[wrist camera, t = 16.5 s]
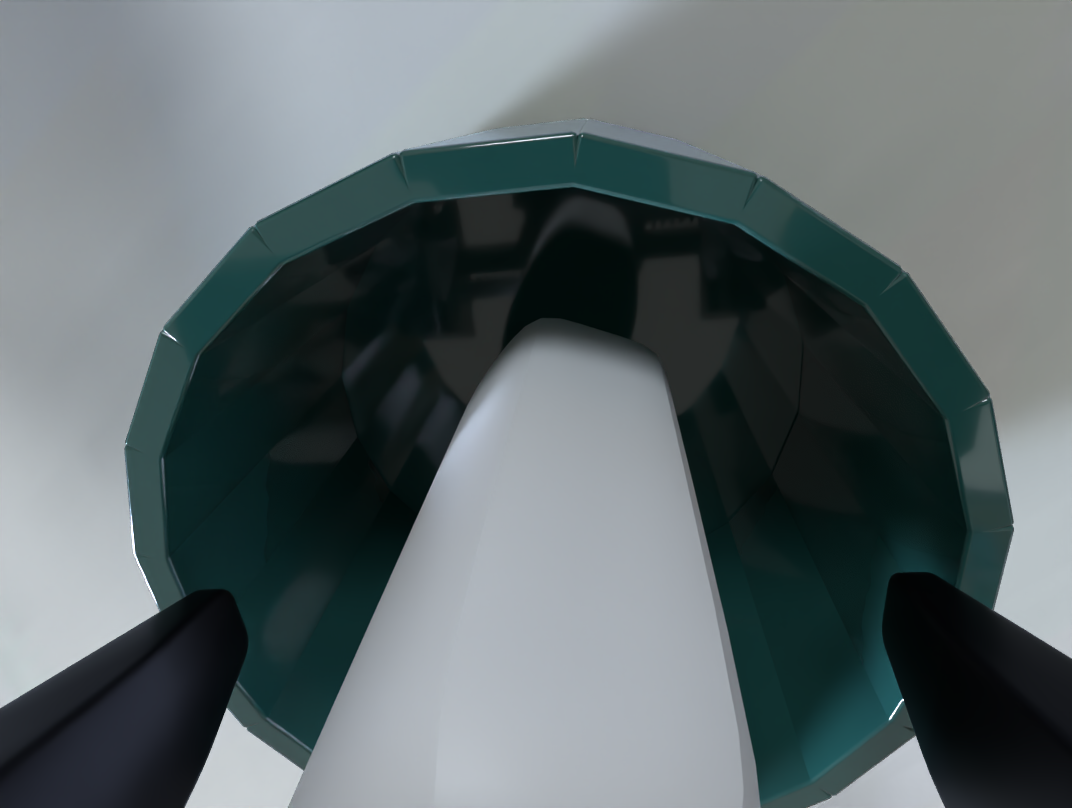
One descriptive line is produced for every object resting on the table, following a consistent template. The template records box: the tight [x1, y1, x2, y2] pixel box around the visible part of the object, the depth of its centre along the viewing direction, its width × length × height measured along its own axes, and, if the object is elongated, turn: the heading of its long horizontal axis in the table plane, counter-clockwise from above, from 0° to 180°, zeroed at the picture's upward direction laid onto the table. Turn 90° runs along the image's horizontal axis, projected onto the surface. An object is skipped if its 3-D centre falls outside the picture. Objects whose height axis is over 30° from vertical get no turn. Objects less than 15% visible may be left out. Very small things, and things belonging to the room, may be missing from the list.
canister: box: [124, 118, 1014, 808], centre depth 11 cm, size 11×11×7 cm
